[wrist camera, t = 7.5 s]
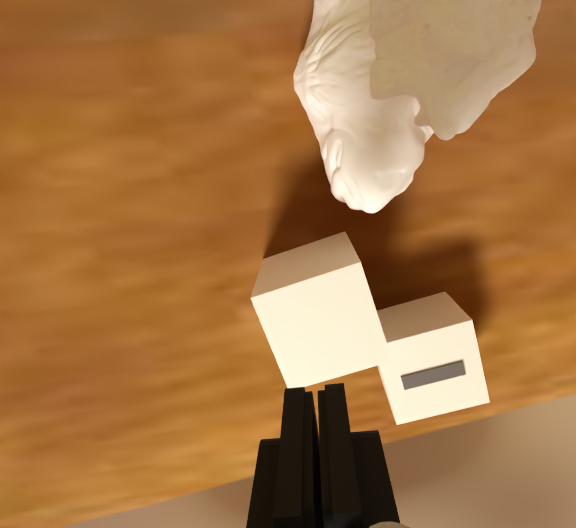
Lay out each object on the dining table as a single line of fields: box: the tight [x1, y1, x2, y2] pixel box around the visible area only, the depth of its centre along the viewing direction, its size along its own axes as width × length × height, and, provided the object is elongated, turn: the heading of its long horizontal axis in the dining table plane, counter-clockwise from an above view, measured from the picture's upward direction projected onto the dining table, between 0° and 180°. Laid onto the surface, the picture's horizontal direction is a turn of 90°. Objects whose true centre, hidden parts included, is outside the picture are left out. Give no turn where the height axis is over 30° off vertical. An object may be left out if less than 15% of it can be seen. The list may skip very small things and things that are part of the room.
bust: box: [293, 0, 541, 213], centre depth 16 cm, size 12×8×11 cm
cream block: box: [251, 231, 392, 388], centre depth 20 cm, size 5×5×6 cm
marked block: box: [377, 292, 490, 425], centre depth 22 cm, size 5×5×4 cm
